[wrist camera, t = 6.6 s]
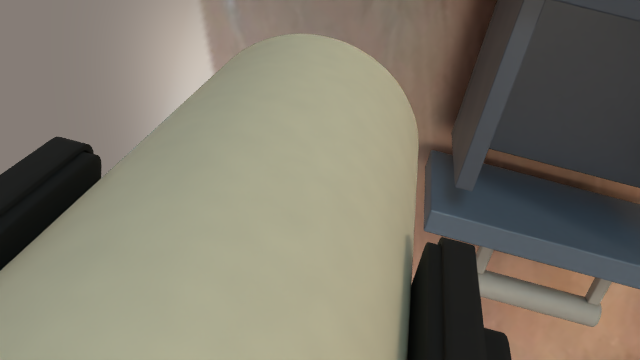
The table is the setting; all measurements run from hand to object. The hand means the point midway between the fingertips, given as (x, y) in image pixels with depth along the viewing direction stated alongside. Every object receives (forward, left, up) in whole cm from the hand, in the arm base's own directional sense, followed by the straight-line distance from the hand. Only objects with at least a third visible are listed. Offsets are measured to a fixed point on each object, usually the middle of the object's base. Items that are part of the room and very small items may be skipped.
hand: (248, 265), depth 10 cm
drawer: (+4, +12, -23) cm, 26 cm away
